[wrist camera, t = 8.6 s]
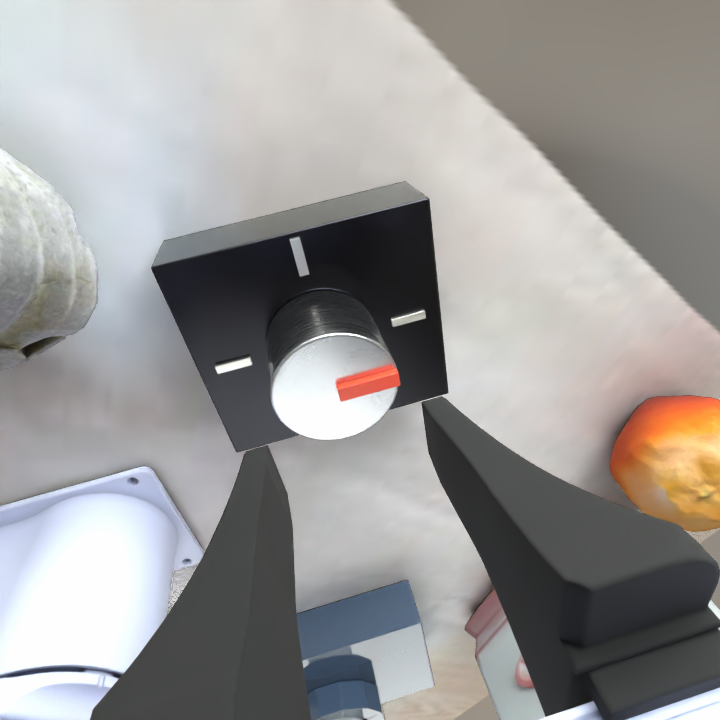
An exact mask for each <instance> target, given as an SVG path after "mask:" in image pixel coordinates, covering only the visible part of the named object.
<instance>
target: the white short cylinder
mask: <svg viewBox="0 0 720 720" xmlns="http://www.w3.org/2000/svg"><path fill="white" fill-rule="evenodd" d="M336 720H364V718H362V717H358V716H351V717H342V718H339V719H336Z"/></svg>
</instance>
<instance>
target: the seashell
mask: <svg viewBox="0 0 720 720" xmlns="http://www.w3.org/2000/svg"><path fill="white" fill-rule="evenodd" d="M75 220H76V218H75V215H74V212H73V211H72V209H71V207H70V205H69V204H68V203H67V202H66V200H65V199H64V198H63V197H62V196H61V195H60V193H59V192H58V191H57V190H56V189H55V188H54V187H53V186H52V185H51V184H50V183H48V182H47V181H46V180H45V179H43V178H42V177H41V176H39V175H38V174H37V173H35V172H34V171H33V170H31V169H30V168H28V167H27V166H25V165H24V164H22V163H21V162H20V161H18V160H17V159H15V158H14V157H13V156H11V155H10V154H9V153H7V152H6V151H4V150H3V149H2V148H0V369H8V368H12V367H14V366H17V365H19V364H21V363H23V362H25V361H27V360H29V359H31V358H32V357H34V356H35V355H37V354H39V353H41V352H43V351H45V350H46V349H48V348H49V347H51V346H53V345H55V344H57V343H58V342H60V341H61V340H63V339H65V338H66V336H68V335H72V334H74V333H76V332H77V331H78V330H80V329H82V328H83V327H84V326H85V325H86V323H87V322H88V320H89V318H90V316H91V314H92V312H93V310H94V309H95V306H96V304H97V302H98V288H97V284H98V272H97V264H96V260H95V257H94V254H93V252H92V250H91V248H90V246H88V245H87V244H85V243H84V242H83V240H82V239H81V238H80V236H79V233H78V230H77V227H76V225H75Z"/></svg>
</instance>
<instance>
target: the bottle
mask: <svg viewBox="0 0 720 720" xmlns="http://www.w3.org/2000/svg"><path fill="white" fill-rule="evenodd" d="M708 606H709V608H710V609H711V610H712V611H713V612H714V613H715V615H716V616H717V617H718V618H719V619H720V610H719V609H718V608H717V607H716V606H715V604H714V603H713V602H712V601H711V600H710V602H709V604H708ZM718 629H719V630H720V628H718ZM465 631H467V632H468V633H469V634H470V635H471V636H473V637H474V638H475V639H476V652H475V658H476V661H477V663H478V666H479V668H480V671H481V674H482V676H483V679H484V681H485V684H486V687H487V689H488V692H489V694H490V697H491V699H492V702H493V705H494V707H495V710H496V712H497V715H498V718H499V720H539V719H542V718H545V714H544V712H543V709H542V706H541V704H540V701H539V699H538V696H537V693H536V691H535V688H534V686H533V683H532V680H531V678H530V675H529V673H528V670H527V667H526V665H525V662H524V660H523V657H522V655H521V652H520V650H519V647H518V645H517V642H516V640H515V637H514V635H513V632H512V630H511V627H510V625H509V622H508V620H507V618H506V615H505V613H504V610H503V608H502V606H501V603H500V601H499V598H498V596H497V594H496V591H495V589H493V590H492V591H491V592H490V594H489V595H488V596H487V597H486V598H485V600H484V601H483V602H482V603H481V605H480V606H479V607H478V608H477V609H476V611H475V612H474V613H473V614H472V616H471V618H470V619H469V621H468V622H467V624H466V625H465Z"/></svg>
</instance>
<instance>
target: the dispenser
mask: <svg viewBox="0 0 720 720" xmlns="http://www.w3.org/2000/svg"><path fill="white" fill-rule="evenodd" d="M296 615H297V625H298V632H299V639H300V647H301V654H302V661H303V668H304V675H305V682H306V689H307V696H308V702H309V708H310V715H311V720H336V719H339V718H342V717H351V716H358V717H362V718H364V720H386V719H385V715H384V710H383V705H382V703H384V702H387V701H390V700H393V699H396V698H400V697H403V696H406V695H409V694H412V693H415V692H418V691H421V690H424V689H427V688H430V687H433V686H435V684H434V679H433V674H432V670H431V665H430V660H429V656H428V651H427V646H426V642H425V637H424V633H423V628H422V623H421V620H420V617H419V613H418V610H417V607H416V604H415V601H414V598H413V594H412V591H411V588H410V585H409V582H408V580H405V581H402V582H399V583H396V584H392V585H389V586H386V587H383V588H379V589H376V590H373V591H370V592H366V593H363V594H360V595H357V596H353V597H350V598H347V599H344V600H341V601H337V602H334V603H331V604H328V605H324V606H321V607H318V608H315V609H311V610H308V611H305V612H302V613H298V614H296Z"/></svg>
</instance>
